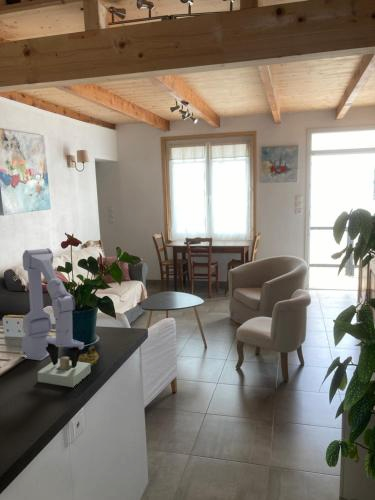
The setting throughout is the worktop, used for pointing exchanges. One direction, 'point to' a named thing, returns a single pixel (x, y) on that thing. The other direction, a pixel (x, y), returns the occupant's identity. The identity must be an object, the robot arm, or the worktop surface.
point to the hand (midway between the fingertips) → (64, 365)
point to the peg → (64, 364)
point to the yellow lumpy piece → (89, 356)
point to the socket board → (64, 374)
